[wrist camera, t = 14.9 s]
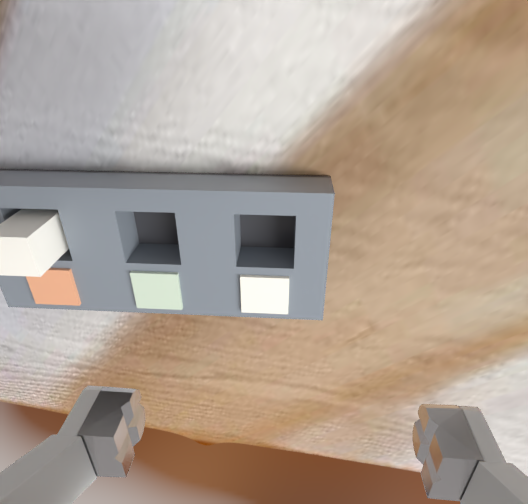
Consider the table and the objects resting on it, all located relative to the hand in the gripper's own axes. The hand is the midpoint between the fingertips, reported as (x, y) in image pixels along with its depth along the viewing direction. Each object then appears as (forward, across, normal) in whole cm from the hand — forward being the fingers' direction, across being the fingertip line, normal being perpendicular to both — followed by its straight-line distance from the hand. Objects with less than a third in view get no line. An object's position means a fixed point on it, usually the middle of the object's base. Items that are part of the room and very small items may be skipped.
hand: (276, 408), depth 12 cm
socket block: (+29, +13, +10) cm, 33 cm away
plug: (+28, +24, +8) cm, 38 cm away
